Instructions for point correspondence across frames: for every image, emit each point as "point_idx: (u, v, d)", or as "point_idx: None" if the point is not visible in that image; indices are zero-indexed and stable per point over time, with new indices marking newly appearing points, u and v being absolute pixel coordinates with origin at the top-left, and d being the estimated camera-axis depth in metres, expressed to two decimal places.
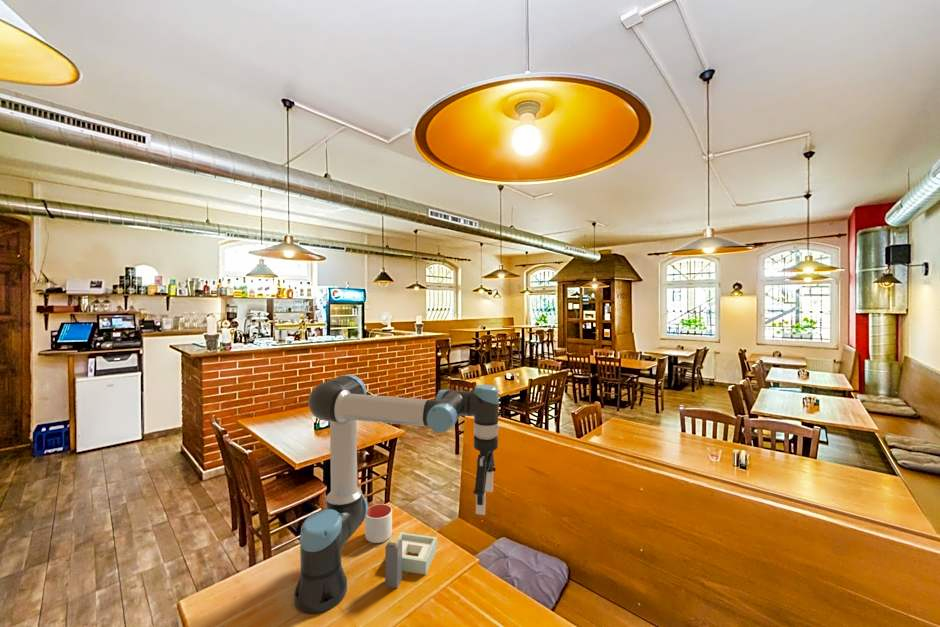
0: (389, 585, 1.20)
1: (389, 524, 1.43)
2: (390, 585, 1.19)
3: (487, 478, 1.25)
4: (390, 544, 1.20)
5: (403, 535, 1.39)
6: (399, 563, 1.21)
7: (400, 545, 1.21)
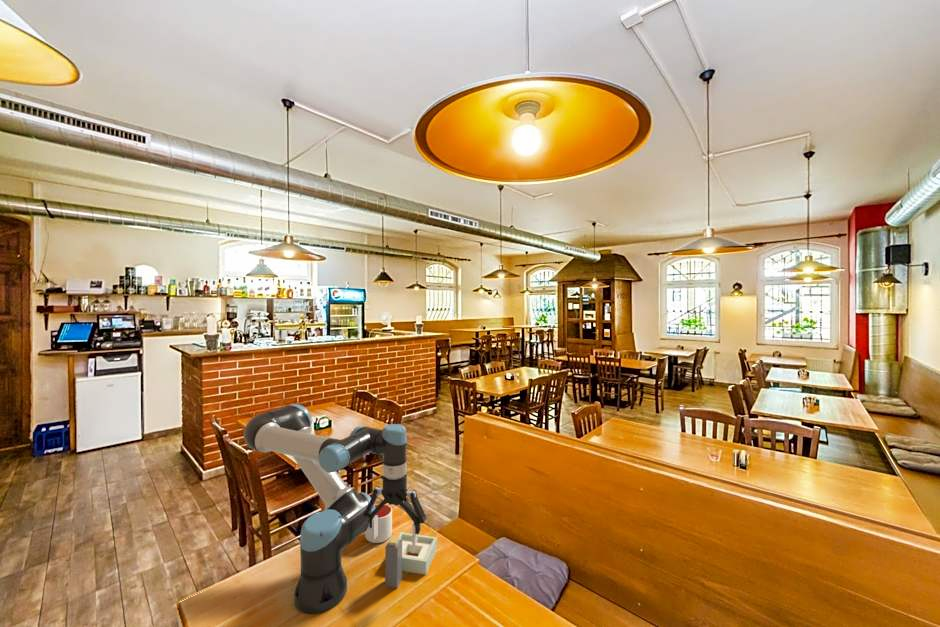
0: (389, 585, 1.20)
1: (389, 524, 1.43)
2: (390, 585, 1.19)
3: None
4: (390, 544, 1.20)
5: (403, 535, 1.39)
6: (399, 563, 1.21)
7: (400, 545, 1.21)
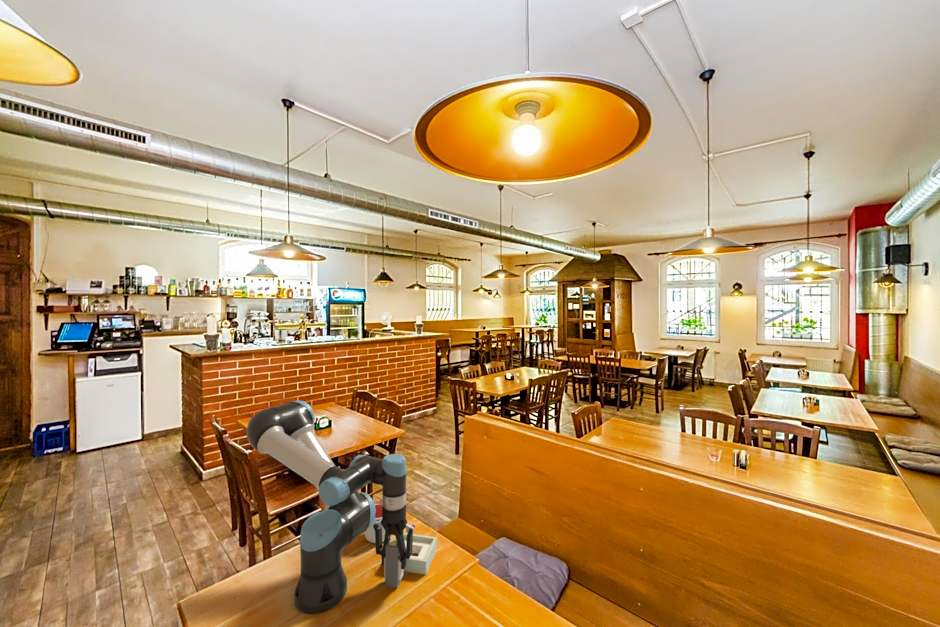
0: (389, 585, 1.20)
1: None
2: (390, 585, 1.19)
3: None
4: (390, 544, 1.20)
5: (403, 535, 1.39)
6: None
7: None
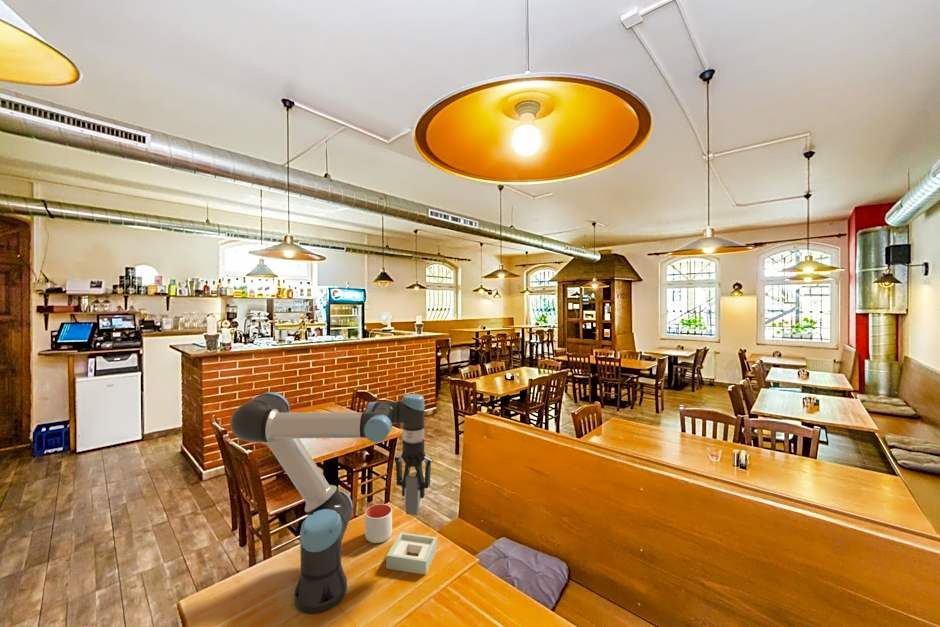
0: (409, 513, 1.30)
1: (389, 524, 1.43)
2: (410, 513, 1.30)
3: None
4: (410, 475, 1.30)
5: (403, 535, 1.39)
6: None
7: None
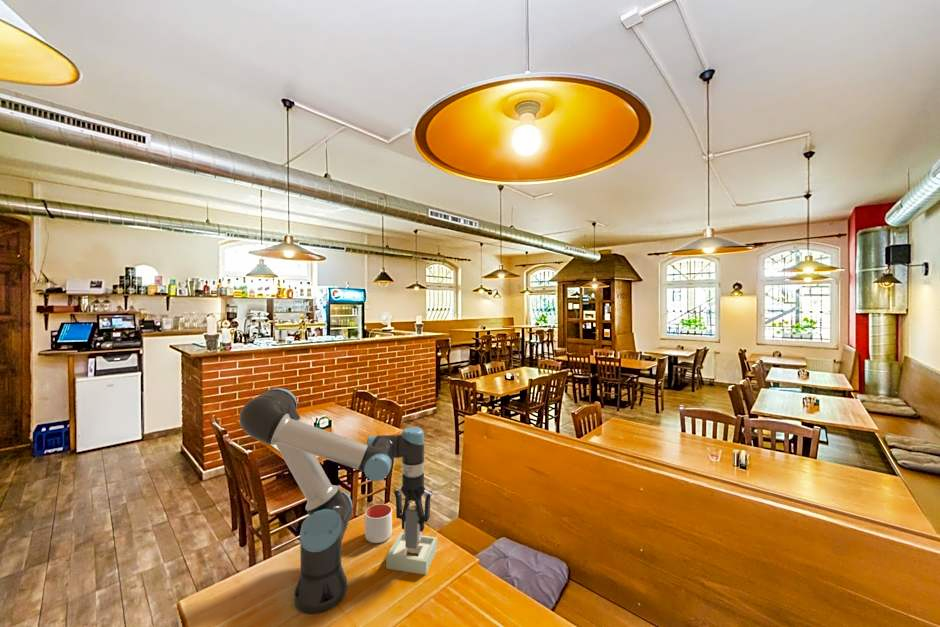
0: (409, 546, 1.31)
1: (389, 524, 1.43)
2: (410, 546, 1.31)
3: None
4: (409, 509, 1.31)
5: (403, 535, 1.39)
6: None
7: None
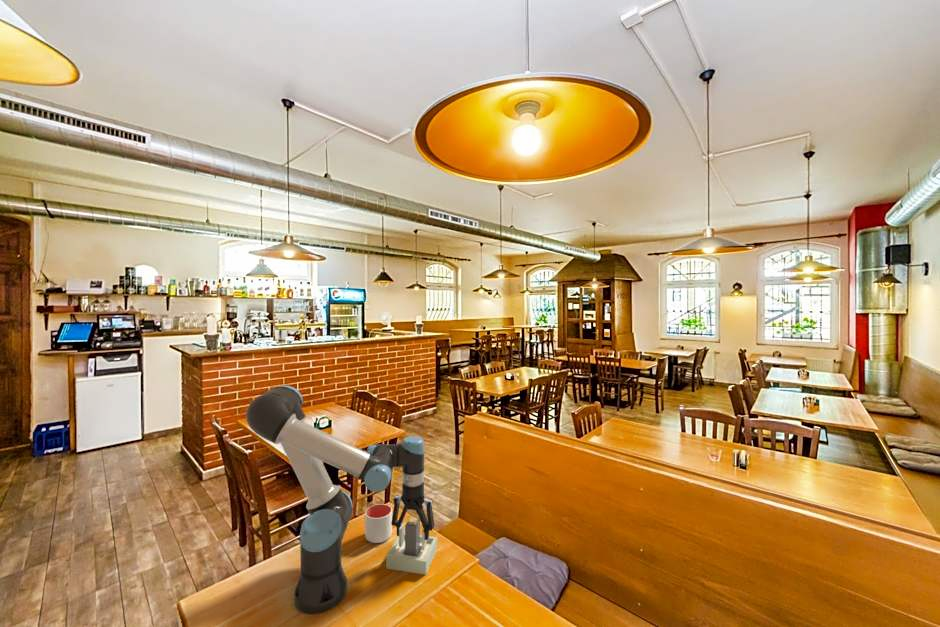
0: None
1: (389, 524, 1.43)
2: None
3: None
4: (409, 523, 1.31)
5: None
6: (417, 541, 1.32)
7: (418, 524, 1.32)
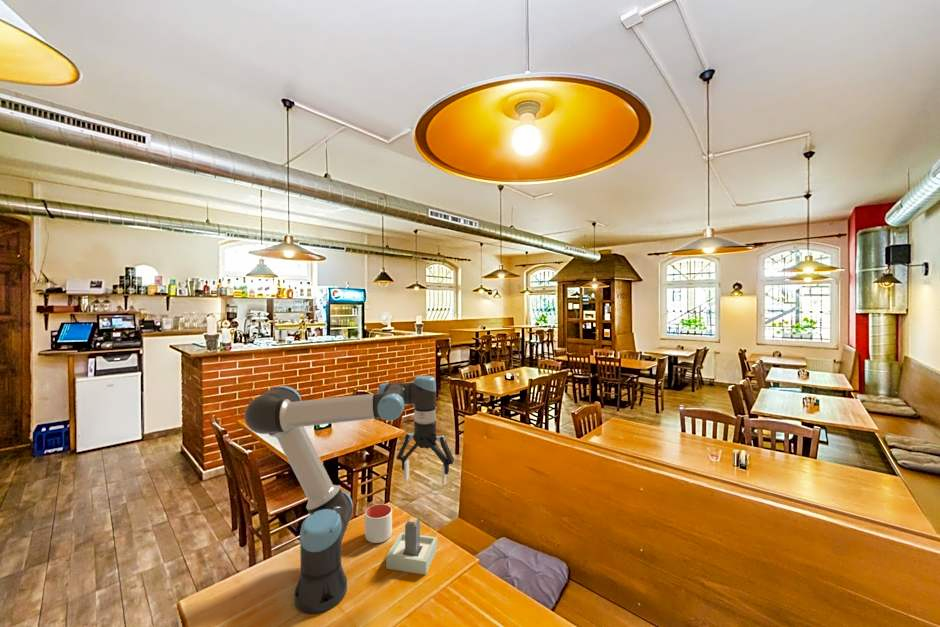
0: None
1: (389, 524, 1.43)
2: None
3: None
4: (409, 523, 1.31)
5: (403, 535, 1.39)
6: (417, 541, 1.32)
7: (418, 524, 1.32)
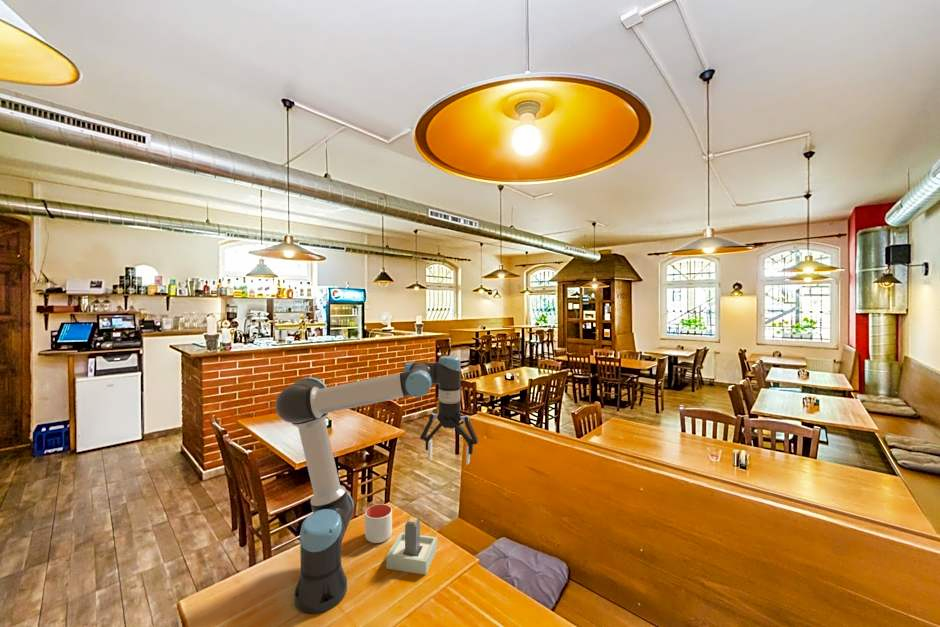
0: None
1: (389, 524, 1.43)
2: None
3: None
4: (409, 523, 1.31)
5: (403, 535, 1.39)
6: (417, 541, 1.32)
7: (418, 524, 1.32)
